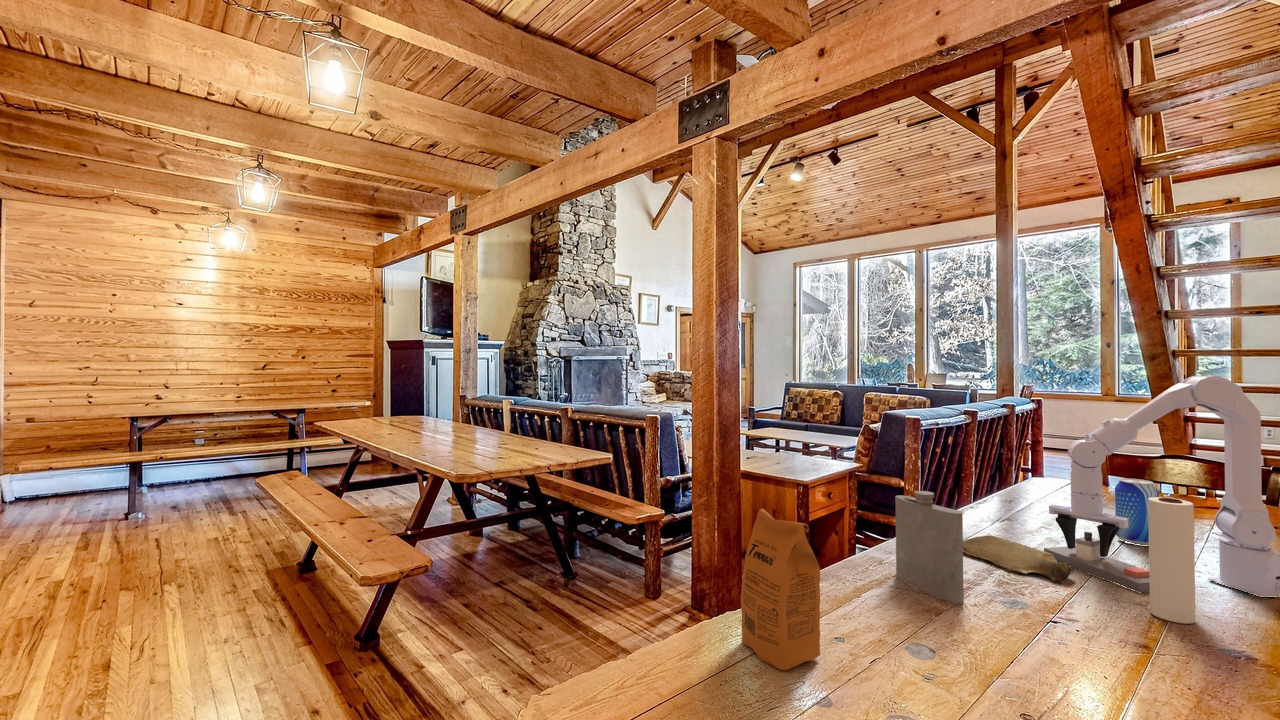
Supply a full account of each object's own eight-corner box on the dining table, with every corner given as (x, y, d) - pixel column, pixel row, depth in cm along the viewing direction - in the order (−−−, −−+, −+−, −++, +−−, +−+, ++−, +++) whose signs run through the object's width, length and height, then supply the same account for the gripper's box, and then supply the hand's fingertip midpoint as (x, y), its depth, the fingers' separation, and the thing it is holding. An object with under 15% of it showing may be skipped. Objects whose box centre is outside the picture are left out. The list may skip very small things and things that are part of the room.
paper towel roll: (1180, 626, 97) (1178, 504, 97) (1141, 612, 103) (1139, 497, 103) (1209, 621, 99) (1206, 502, 99) (1168, 607, 105) (1166, 494, 105)
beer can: (1169, 547, 139) (1167, 484, 139) (1136, 548, 139) (1134, 484, 139) (1138, 537, 147) (1137, 477, 148) (1107, 538, 147) (1106, 477, 148)
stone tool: (1088, 577, 119) (981, 543, 143) (1086, 558, 119) (979, 528, 142) (1052, 592, 115) (948, 555, 139) (1049, 573, 115) (946, 539, 139)
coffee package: (779, 628, 98) (778, 503, 98) (830, 662, 86) (828, 521, 86) (731, 639, 94) (730, 509, 94) (777, 677, 82) (776, 528, 82)
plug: (1101, 566, 127) (1100, 533, 127) (1091, 569, 125) (1090, 535, 125) (1086, 562, 129) (1085, 529, 129) (1076, 565, 128) (1075, 531, 128)
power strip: (1176, 590, 113) (1176, 575, 113) (1138, 593, 112) (1138, 578, 112) (1076, 554, 135) (1076, 541, 135) (1043, 556, 133) (1043, 543, 133)
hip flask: (967, 602, 108) (966, 499, 108) (951, 605, 106) (950, 501, 107) (904, 573, 123) (903, 483, 123) (889, 576, 121) (888, 484, 122)
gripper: (1133, 496, 123) (1134, 558, 123) (1058, 484, 136) (1059, 540, 135) (1120, 500, 120) (1121, 563, 119) (1044, 488, 132) (1045, 545, 132)
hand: (1087, 551), depth 127 cm, fingers open, 6 cm apart
